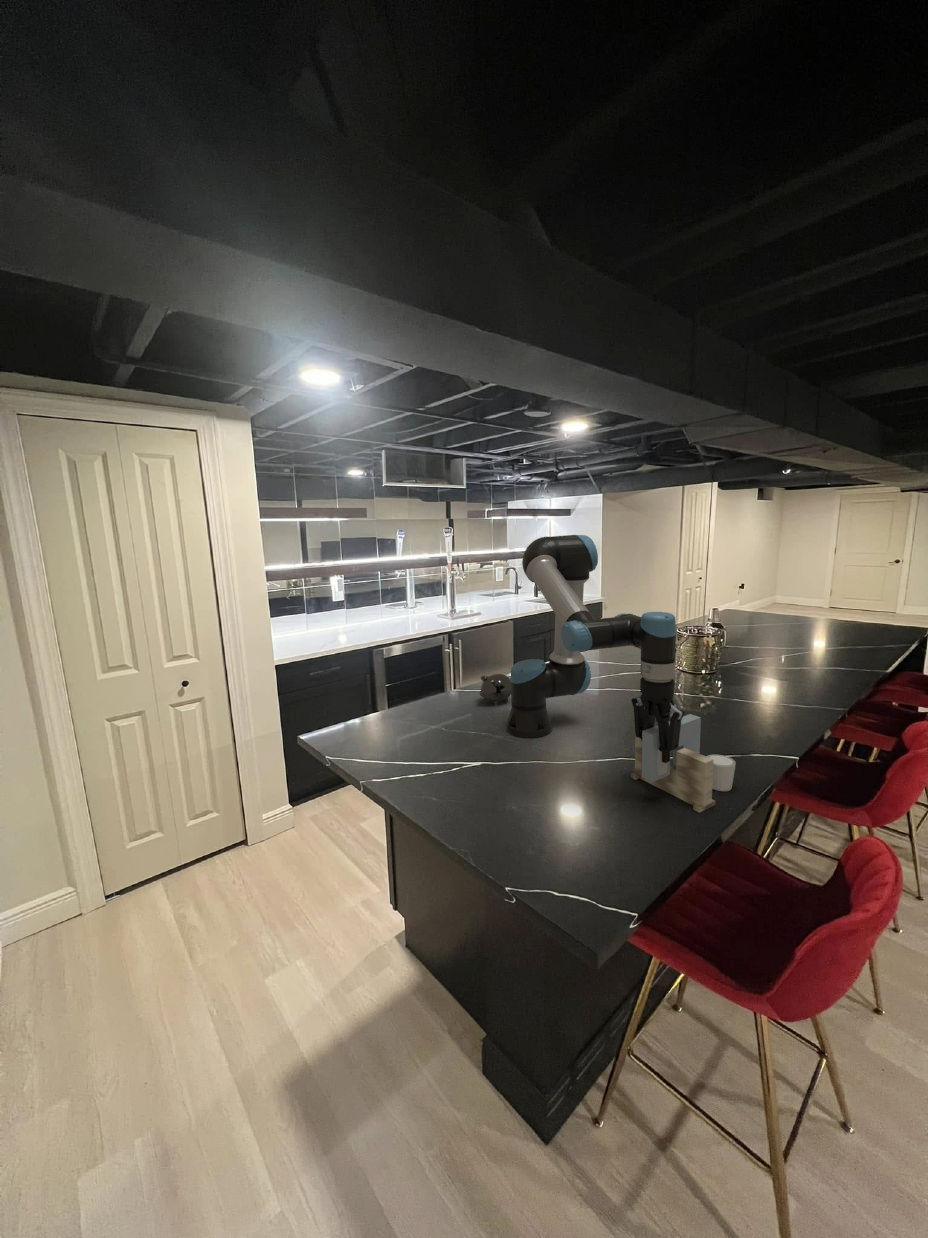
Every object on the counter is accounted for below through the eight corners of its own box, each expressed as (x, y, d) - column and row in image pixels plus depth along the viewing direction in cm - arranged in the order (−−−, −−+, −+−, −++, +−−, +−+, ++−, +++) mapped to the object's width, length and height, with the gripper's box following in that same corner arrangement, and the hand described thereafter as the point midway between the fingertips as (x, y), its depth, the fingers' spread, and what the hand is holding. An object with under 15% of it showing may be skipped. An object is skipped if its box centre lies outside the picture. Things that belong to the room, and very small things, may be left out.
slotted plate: (652, 782, 114) (652, 735, 112) (641, 777, 117) (642, 730, 115) (699, 761, 123) (700, 717, 121) (688, 757, 126) (690, 714, 124)
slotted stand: (630, 777, 128) (631, 735, 126) (646, 771, 131) (646, 729, 129) (699, 812, 111) (701, 764, 109) (715, 804, 114) (717, 757, 112)
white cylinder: (707, 776, 127) (708, 751, 126) (737, 783, 123) (738, 758, 121) (701, 787, 122) (702, 761, 120) (731, 795, 117) (732, 769, 116)
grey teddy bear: (473, 703, 191) (472, 675, 189) (504, 695, 198) (503, 668, 196) (489, 711, 181) (487, 682, 179) (520, 702, 189) (519, 674, 187)
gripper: (619, 673, 118) (619, 762, 122) (677, 689, 104) (674, 789, 108) (640, 667, 122) (639, 754, 126) (698, 682, 108) (695, 779, 112)
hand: (655, 770), depth 117 cm, fingers closed on slotted plate, 3 cm apart
